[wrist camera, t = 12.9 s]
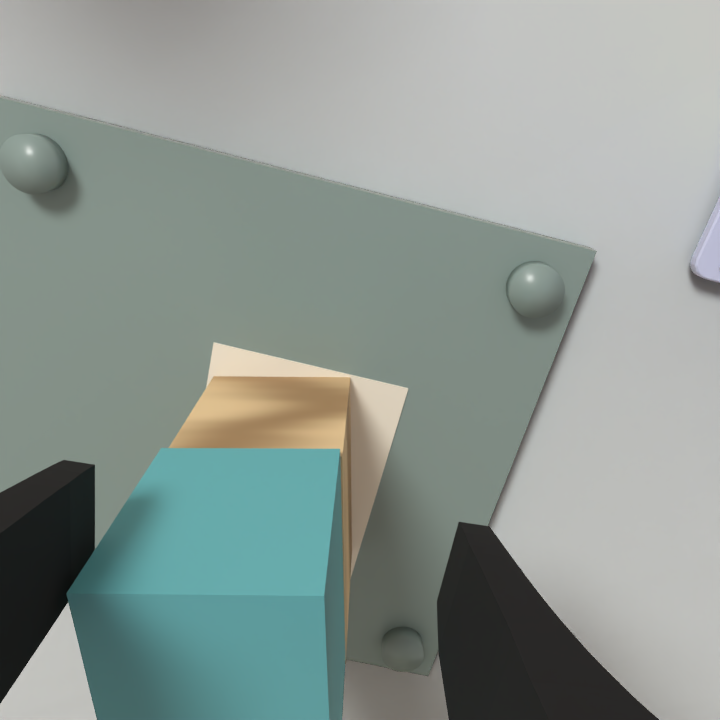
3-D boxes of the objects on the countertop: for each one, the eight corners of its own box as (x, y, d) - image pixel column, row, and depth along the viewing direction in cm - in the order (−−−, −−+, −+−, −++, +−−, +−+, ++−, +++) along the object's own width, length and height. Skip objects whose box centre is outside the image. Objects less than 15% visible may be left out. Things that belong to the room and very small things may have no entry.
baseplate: (590, 247, 19) (604, 256, 17) (426, 663, 25) (429, 691, 24) (1, 95, 17) (-27, 93, 16) (-9, 574, 24) (-29, 598, 23)
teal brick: (339, 448, 15) (324, 595, 10) (345, 658, 18) (334, 850, 13) (161, 448, 15) (66, 593, 11) (192, 656, 18) (128, 846, 13)
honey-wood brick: (350, 377, 20) (342, 456, 15) (352, 550, 22) (345, 663, 18) (213, 376, 20) (164, 454, 15) (231, 549, 22) (193, 661, 18)
